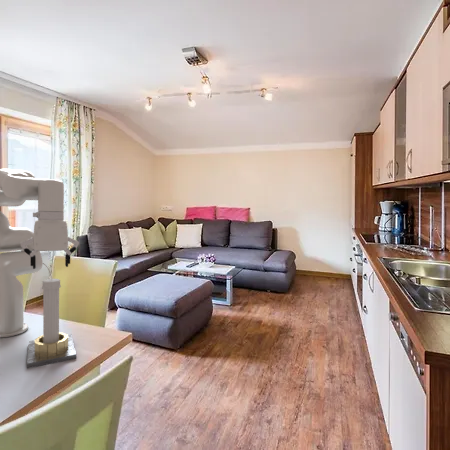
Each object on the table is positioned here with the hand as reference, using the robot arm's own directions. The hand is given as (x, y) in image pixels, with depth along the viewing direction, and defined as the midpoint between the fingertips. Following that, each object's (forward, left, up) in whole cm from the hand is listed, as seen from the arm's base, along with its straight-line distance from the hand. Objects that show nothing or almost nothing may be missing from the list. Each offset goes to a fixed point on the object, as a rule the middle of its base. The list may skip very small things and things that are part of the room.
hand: (50, 267), depth 107 cm
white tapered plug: (0, 0, -29) cm, 29 cm away
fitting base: (-2, 0, -30) cm, 30 cm away
